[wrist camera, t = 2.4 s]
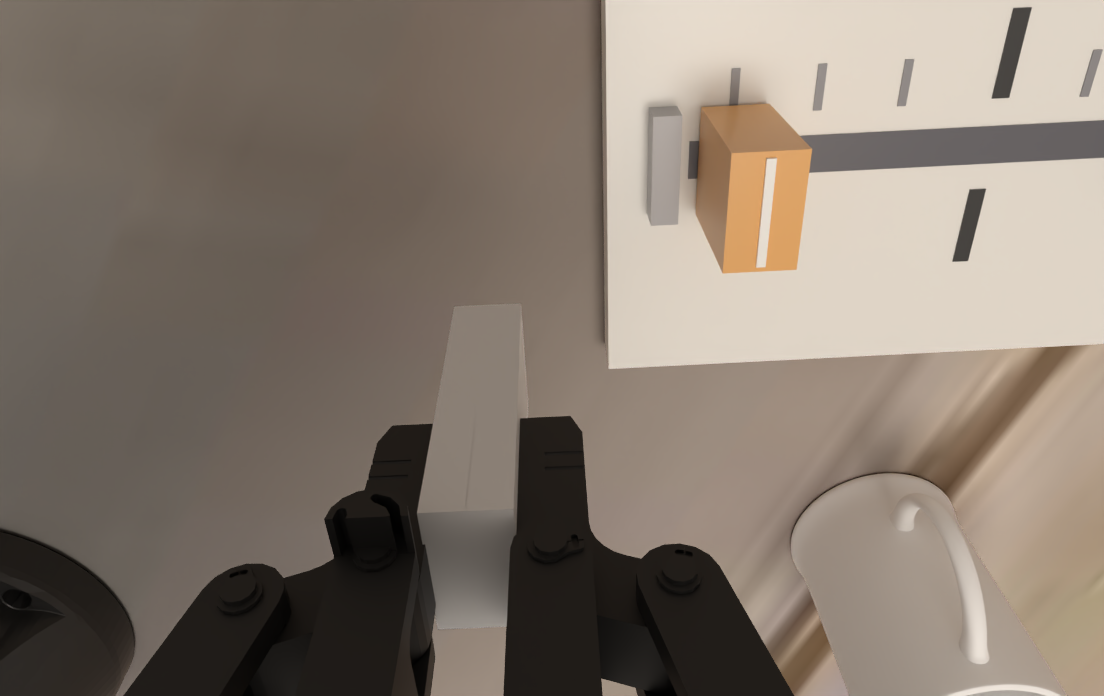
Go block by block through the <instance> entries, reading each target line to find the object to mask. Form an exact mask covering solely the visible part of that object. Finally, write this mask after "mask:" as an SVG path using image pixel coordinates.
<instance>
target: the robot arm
mask: <svg viewBox="0 0 1104 696" xmlns="http://www.w3.org/2000/svg"><path fill="white" fill-rule="evenodd" d="M324 520H325V524H326V528H327V531H328V535H329V539H330V543H331V546H332V550H333V554H334V559H333V560H331V561H329V562H328V563H326V564H324V565H322V566H320V567H317V568H315V569H312V570H310V571H306V572H303V573H300V574H296V575H293V576H290V577H286V578H283V577H282V576H281V575H280V574H279V572H278V571H277V570H276V569H275V568H273V567H270V566H267V565H264V564H245V565H241V566H238V567H234V568H231V569H229V570H227V571H225V572H223V573H222V574H220V575H218V576H217V577H215V578H214V579H213V580H212V581H211V582H210V583H209V584H208V585H207V586H206V587H205V588H204V589H203V590H202V591H201V592H200V594H199V595H198V596H197V598H196V599H195V600H194V602H193V603H192V604H191V606H190V607H189V608H188V610H187V611H186V613H185V614H184V615H183V617H182V618H181V619H180V621H179V622H178V623H177V625H176V626H175V627H174V629H173V630H172V631H171V633H170V634H169V635H168V637H167V638H166V639H165V641H164V642H163V643H162V645H161V646H160V647H159V649H158V650H157V651H156V653H155V654H154V655H153V657H152V658H151V659H150V661H149V662H148V664H147V665H146V666H145V668H144V669H143V670H142V672H141V673H140V674H139V676H138V677H137V678H136V680H135V681H134V682H133V684H132V685H131V686H130V688H129V689H128V690H127V692H126V693H125V694H124V696H430V695H431V687H432V679H433V671H434V663H435V652H434V644H433V639H432V630H433V623H434V615H435V616H436V622H437V627H438V630H439V629H463V628H487V627H507V629H506V652H505V675H504V696H602V682H601V678H602V679H606V680H609V681H613V682H617V683H620V684H624V685H628V686H631V687H635V688H636V691H637V694H638V696H794V695H793V693H792V691H791V690H790V688H789V686H788V684H787V683H786V681H785V679H784V677H783V676H782V674H781V672H780V670H779V669H778V667H777V665H776V664H775V662H774V660H773V658H772V657H771V655H770V653H769V651H768V650H767V648H766V646H765V644H764V643H763V641H762V639H761V637H760V636H759V634H758V632H757V631H756V629H755V627H754V625H753V624H752V622H751V620H750V618H749V617H748V615H747V613H746V611H745V610H744V608H743V606H742V604H741V603H740V601H739V599H738V598H737V596H736V594H735V592H734V591H733V589H732V587H731V585H730V584H729V582H728V580H727V578H726V577H725V575H724V573H723V571H722V570H721V568H720V566H719V565H718V564H717V563H716V562H715V560H714V559H713V558H712V557H711V556H710V555H709V554H707V553H705V552H704V551H702V550H700V549H698V548H696V547H693V546H688V545H683V544H668V545H662V546H660V547H657V548H655V549H652V550H650V551H649V552H648V553H647V554H646V555H645V556H644V557H643V558H642V559H640V558H635V557H631V556H626V555H623V554H620V553H617V552H614V551H612V550H610V549H609V548H607V547H605V546H604V545H602V544H601V543H600V542H599V541H598V540H597V539H596V538H595V536H594V535H593V533H592V531H591V529H590V525H589V519H588V505H587V492H586V478H585V465H584V452H583V438H582V431H581V430H580V429H579V427H578V426H577V424H576V423H575V422H574V420H573V419H572V418H571V416H562V417H539V418H528V391H527V377H526V363H525V350H524V336H523V323H522V309H521V303H517V304H495V305H473V306H454V310H453V316H452V322H451V327H450V333H449V338H448V344H447V349H446V355H445V360H444V366H443V371H442V377H441V382H440V388H439V394H438V399H437V405H436V410H435V416H434V421H433V424H419V425H396V426H392V427H391V428H390V429H389V430H388V431H387V432H386V434H385V435H384V436H383V437H382V438H381V439H380V440H379V442H378V443H377V446H376V450H375V454H374V458H373V465H371V469H370V473H369V480H367V484H366V488H365V490H364V491H358V492H355V493H353V494H351V495H349V496H347V497H344V498H342V499H341V500H340V501H339V502H337V503H336V504H335V505H334V506H333V507H331V509H330V510H329V512H328V514H327V516H326V517H325V519H324ZM133 654H134V636H133V631H132V628H131V625H130V622H129V620H128V618H127V616H126V614H125V612H124V610H123V609H122V607H121V606H120V604H119V603H118V602H117V600H116V599H115V598H114V597H113V595H112V594H111V593H110V592H109V591H108V590H107V589H106V588H105V587H104V586H103V585H102V584H101V583H100V582H99V581H98V580H96V579H95V578H94V577H93V576H92V575H90V574H89V573H88V572H86V571H85V570H84V569H82V568H81V567H79V566H78V565H76V564H75V563H73V562H71V561H70V560H68V559H66V558H65V557H63V556H61V555H59V554H57V553H55V552H53V551H51V550H49V549H47V548H45V547H43V546H40V545H38V544H36V543H33V542H30V541H28V540H25V539H22V538H19V537H16V536H13V535H9V534H6V533H2V532H0V696H115V695H116V693H117V691H118V689H119V687H120V685H121V683H122V681H123V679H124V677H125V675H126V673H127V671H128V669H129V667H130V665H131V662H132V659H133Z"/></svg>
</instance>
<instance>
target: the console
mask: <svg viewBox="0 0 1104 696" xmlns="http://www.w3.org/2000/svg"><path fill="white" fill-rule="evenodd" d="M601 45H602V135H603V224H604V313H605V349H606V355H607V362H608V368H609V369H617V368H637V367H657V366H677V365H696V364H716V363H736V362H755V361H775V360H795V359H815V358H834V357H854V356H874V355H893V354H913V353H933V352H953V351H972V350H992V349H1012V348H1031V347H1051V346H1071V345H1091V344H1104V0H601ZM753 104H770V105H771V106H772V107H773V108H774V109H775V110H776V111H777V112H778V113H779V114H780V115H781V116H782V117H783V119H784V120H785V121H786V122H787V123H788V124H789V125H790V126H791V127H792V128H793V129H794V130H795V131H796V132H797V133H798V135H799V136H800V137H801V138H802V139H803V140H804V141H805V142H806V143H807V144H808V145H809V146H810V147H811V148H812V154H811V162H810V170H809V177H808V185H807V193H806V201H805V208H804V216H803V224H802V232H801V239H800V247H799V255H798V263H797V270H782V271H763V272H743V273H722V271H721V269H720V267H719V264H718V262H717V260H716V258H715V256H714V253H713V251H712V249H711V247H710V245H709V243H708V240H707V238H706V236H705V234H704V232H703V229H702V227H701V225H700V223H699V221H698V218H697V216H696V195H697V176H698V157H699V138H700V120H701V107H714V106H734V105H753Z"/></svg>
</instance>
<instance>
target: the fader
mask: <svg viewBox="0 0 1104 696" xmlns="http://www.w3.org/2000/svg"><path fill="white" fill-rule="evenodd" d="M811 154H812V148H811V147H810V146H809V145H808V144H807V143H806V142H805V141H804V140H803V139H802V138H801V137H800V136H799V135H798V133H797V132H796V131H795V130H794V129H793V128H792V127H791V126H790V125H789V124H788V123H787V122H786V121H785V120H784V119H783V117H782V116H781V115H780V114H779V113H778V112H777V111H776V110H775V109H774V108H773V107H772V106H771V105H770V104H753V105H734V106H714V107H701V120H700V138H699V157H698V176H697V195H696V216H697V218H698V221H699V223H700V225H701V227H702V229H703V232H704V234H705V236H706V238H707V240H708V243H709V245H710V247H711V249H712V251H713V253H714V256H715V258H716V260H717V262H718V264H719V267H720V269H721V271H722V273H743V272H763V271H782V270H797V263H798V255H799V247H800V239H801V232H802V224H803V216H804V208H805V201H806V193H807V185H808V177H809V170H810V162H811Z"/></svg>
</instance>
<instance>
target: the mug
mask: <svg viewBox="0 0 1104 696" xmlns="http://www.w3.org/2000/svg"><path fill="white" fill-rule="evenodd" d="M791 555H792V559H793V561H794V564H795V566H796V568H797V569H798V571H799V572H800V574H801V575H802V576H803V578H804V579H805V581H806V584H807V586H808V588H809V591H810V593H811V596H812V598H813V601H814V604H815V606H816V609H817V612H818V614H819V617H820V619H821V622H822V625H823V627H824V630H825V633H826V635H827V638H828V641H829V643H830V646H831V649H832V651H833V654H834V657H835V659H836V662H837V664H838V667H839V670H840V672H841V675H842V678H843V680H844V683H845V686H846V688H847V691H848V694H849V696H1068V695H1067V694H1066V692H1065V691H1064V689H1063V687H1062V686H1061V684H1060V683H1059V681H1058V680H1057V678H1056V676H1055V675H1054V673H1053V672H1052V670H1051V669H1050V667H1049V665H1048V664H1047V662H1046V661H1045V659H1044V658H1043V656H1042V654H1041V653H1040V651H1039V650H1038V648H1037V647H1036V645H1035V643H1034V642H1033V640H1032V639H1031V637H1030V636H1029V634H1028V632H1027V631H1026V629H1025V628H1024V626H1023V624H1022V623H1021V621H1020V620H1019V618H1018V617H1017V615H1016V613H1015V612H1014V610H1013V609H1012V607H1011V606H1010V604H1009V602H1008V601H1007V599H1006V598H1005V596H1004V595H1003V593H1002V591H1001V590H1000V588H999V587H998V585H997V584H996V582H995V580H994V579H993V577H992V576H991V574H990V573H989V571H988V569H987V568H986V566H985V565H984V563H983V561H982V560H981V558H980V557H979V555H978V554H977V552H976V550H975V549H974V547H973V546H972V544H971V543H970V541H969V539H968V538H967V536H966V534H965V533H964V531H963V529H962V528H961V526H960V524H959V522H958V520H957V518H956V514H955V511H954V508H953V505H952V503H951V502H950V500H949V498H948V497H947V496H946V495H945V493H944V492H943V491H942V490H941V489H939V488H938V487H937V486H935V485H934V484H932V483H930V482H929V481H926V480H924V479H922V478H919V477H915V476H911V475H906V474H897V473H884V474H874V475H868V476H864V477H860V478H856V479H853V480H850V481H848V482H845V483H843V484H840V485H838V486H836V487H834V488H833V489H831V490H829V491H827V492H826V493H824V494H823V495H822V496H820V497H819V498H818V499H816V500H815V501H814V502H813V503H812V504H811V505H810V506H809V507H808V508H807V509H806V510H805V511H804V513H803V514H802V515H801V517H800V518H799V520H798V521H797V523H796V525H795V528H794V530H793V533H792V537H791Z"/></svg>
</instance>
